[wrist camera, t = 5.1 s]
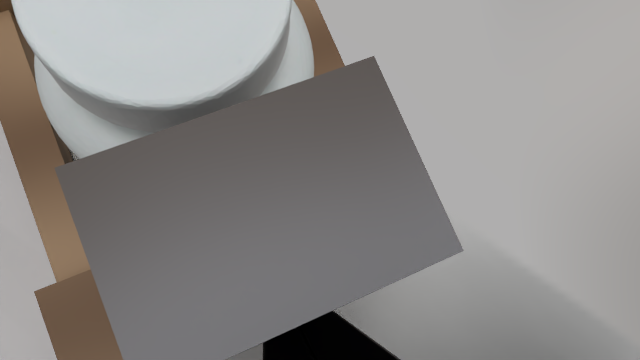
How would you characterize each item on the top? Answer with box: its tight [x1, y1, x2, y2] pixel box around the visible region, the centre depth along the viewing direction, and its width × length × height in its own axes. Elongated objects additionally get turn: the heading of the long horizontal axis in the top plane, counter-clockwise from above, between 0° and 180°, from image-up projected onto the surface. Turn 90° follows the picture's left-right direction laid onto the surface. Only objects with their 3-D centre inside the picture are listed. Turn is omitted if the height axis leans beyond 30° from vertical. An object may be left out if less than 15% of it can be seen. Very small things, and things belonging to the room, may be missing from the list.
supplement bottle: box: [11, 0, 314, 159], centre depth 12 cm, size 5×5×10 cm
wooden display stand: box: [0, 0, 463, 360], centre depth 11 cm, size 12×10×11 cm
